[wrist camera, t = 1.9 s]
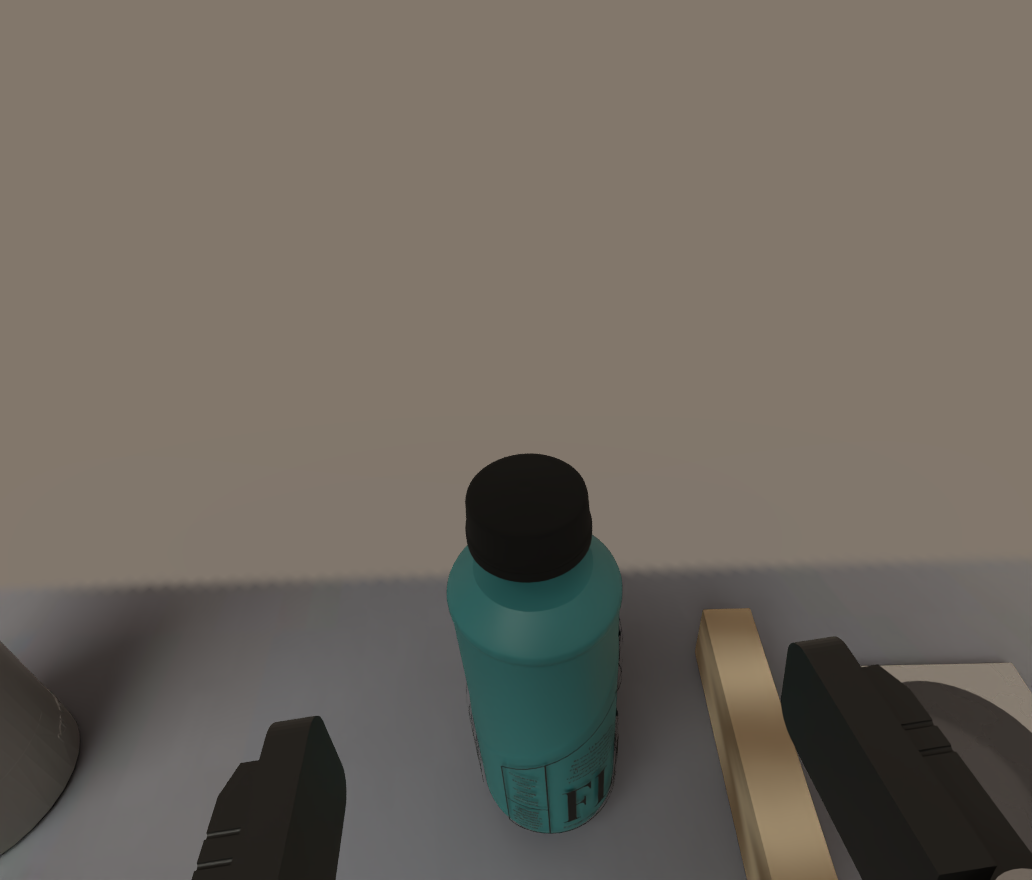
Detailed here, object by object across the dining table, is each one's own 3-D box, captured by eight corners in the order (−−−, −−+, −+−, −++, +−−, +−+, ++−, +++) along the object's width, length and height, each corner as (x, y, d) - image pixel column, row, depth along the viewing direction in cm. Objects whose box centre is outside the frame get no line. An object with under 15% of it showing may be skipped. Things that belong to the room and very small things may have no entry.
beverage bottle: (570, 884, 29) (561, 610, 16) (457, 796, 32) (376, 510, 19) (638, 762, 33) (673, 465, 20) (531, 694, 36) (504, 402, 23)
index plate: (1161, 908, 27) (1170, 902, 26) (889, 908, 27) (894, 903, 27) (1007, 668, 35) (1012, 661, 35) (802, 673, 36) (805, 666, 35)
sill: (825, 953, 26) (851, 922, 24) (763, 952, 26) (782, 922, 24) (738, 650, 37) (749, 608, 35) (694, 651, 37) (702, 609, 35)
